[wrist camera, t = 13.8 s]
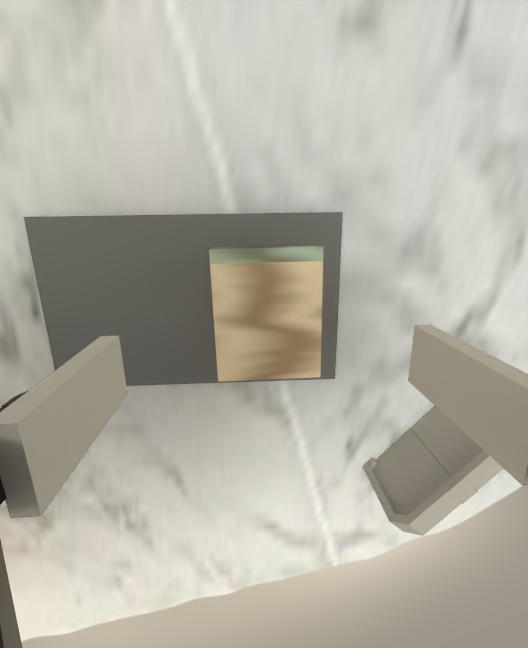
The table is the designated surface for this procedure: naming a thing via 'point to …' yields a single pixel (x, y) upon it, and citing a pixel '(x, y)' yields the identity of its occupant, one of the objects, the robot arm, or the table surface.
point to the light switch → (429, 473)
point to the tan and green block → (267, 311)
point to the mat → (162, 285)
